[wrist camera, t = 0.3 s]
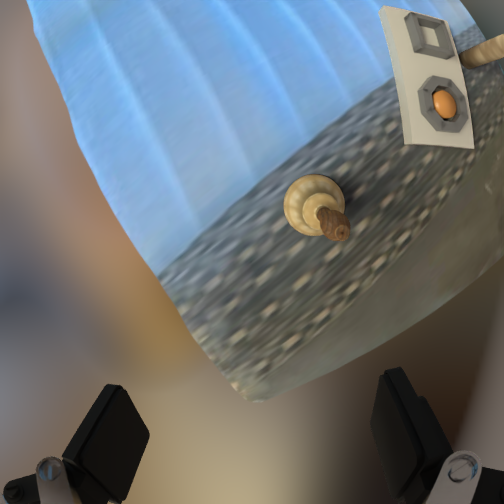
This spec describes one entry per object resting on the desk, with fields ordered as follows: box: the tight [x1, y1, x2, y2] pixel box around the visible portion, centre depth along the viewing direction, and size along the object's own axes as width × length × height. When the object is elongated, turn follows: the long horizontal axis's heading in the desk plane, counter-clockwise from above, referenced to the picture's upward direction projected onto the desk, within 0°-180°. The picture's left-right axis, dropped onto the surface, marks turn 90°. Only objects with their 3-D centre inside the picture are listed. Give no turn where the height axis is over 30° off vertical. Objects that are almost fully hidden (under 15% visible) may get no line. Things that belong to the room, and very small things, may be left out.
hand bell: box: [284, 174, 350, 241], centre depth 29 cm, size 8×8×16 cm
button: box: [432, 90, 456, 119], centre depth 29 cm, size 4×4×2 cm
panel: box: [378, 5, 474, 149], centre depth 28 cm, size 22×12×5 cm, turn 6°
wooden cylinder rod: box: [459, 34, 504, 69], centre depth 22 cm, size 3×3×12 cm
